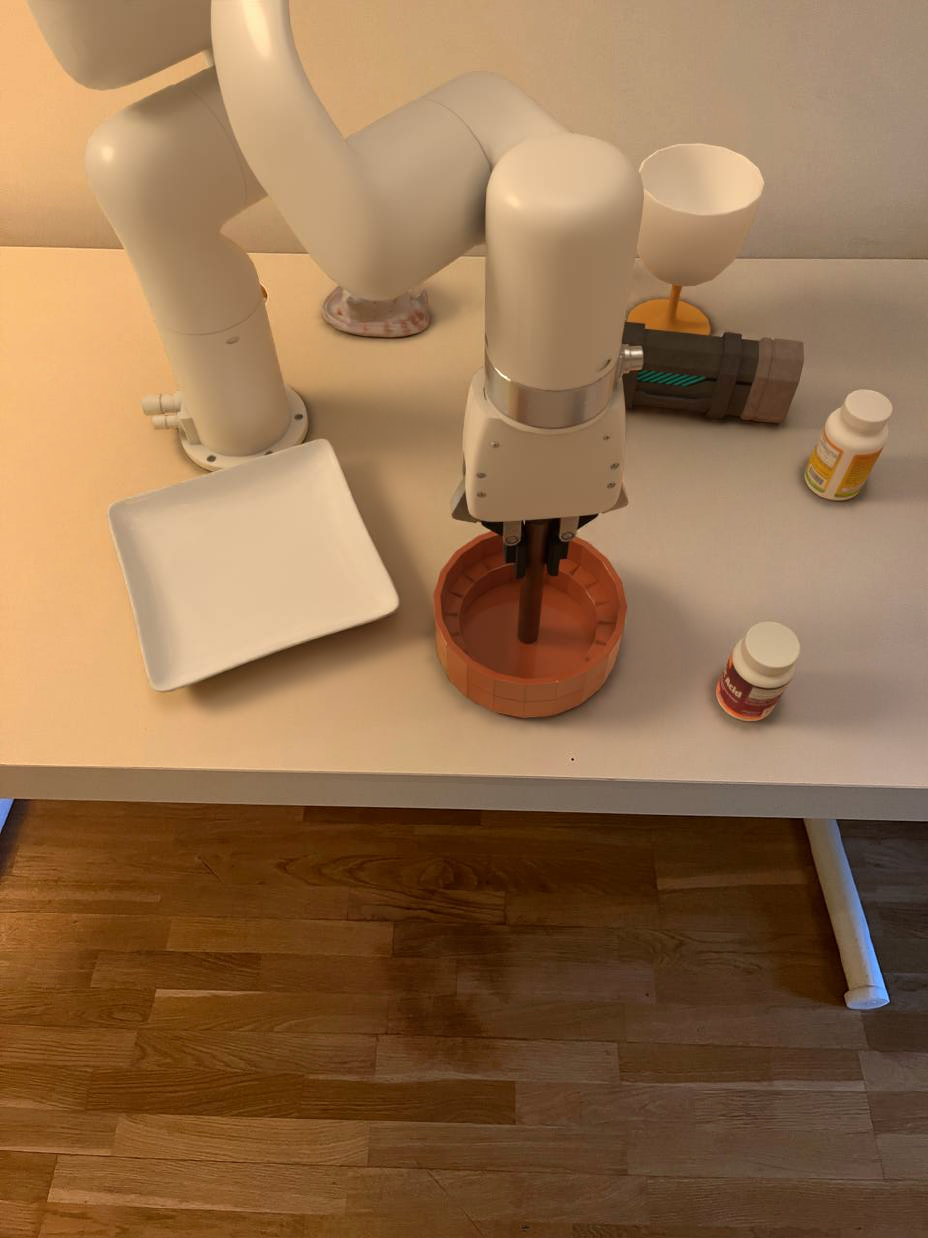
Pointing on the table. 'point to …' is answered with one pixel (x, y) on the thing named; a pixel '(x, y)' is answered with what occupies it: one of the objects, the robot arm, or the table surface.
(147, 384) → the table surface
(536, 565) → the stick
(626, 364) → the robot arm
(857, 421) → the supplement bottle
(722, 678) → the pill bottle
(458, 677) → the bowl
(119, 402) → the table surface
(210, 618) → the salad plate
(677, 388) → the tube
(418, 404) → the table surface
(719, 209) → the cup
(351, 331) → the seashell
